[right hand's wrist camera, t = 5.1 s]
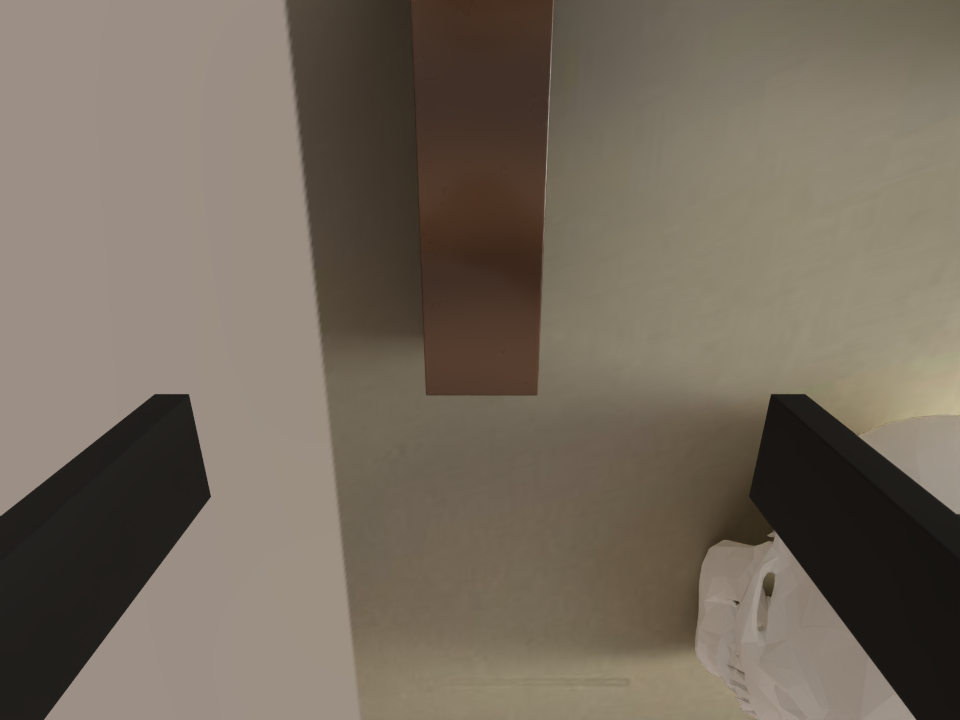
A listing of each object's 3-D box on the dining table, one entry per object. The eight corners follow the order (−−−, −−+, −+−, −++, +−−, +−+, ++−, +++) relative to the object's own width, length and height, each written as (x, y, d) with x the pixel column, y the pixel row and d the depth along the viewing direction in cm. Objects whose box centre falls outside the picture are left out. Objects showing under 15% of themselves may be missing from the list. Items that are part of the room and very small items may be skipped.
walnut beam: (422, -217, 21) (395, -379, 14) (542, -218, 21) (570, -379, 14) (438, 338, 29) (425, 395, 22) (525, 338, 29) (537, 395, 22)
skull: (623, 625, 36) (734, 967, 21) (822, 324, 28) (1207, 531, 14) (795, 675, 38) (1003, 1016, 23) (1022, 408, 31) (1538, 664, 16)
